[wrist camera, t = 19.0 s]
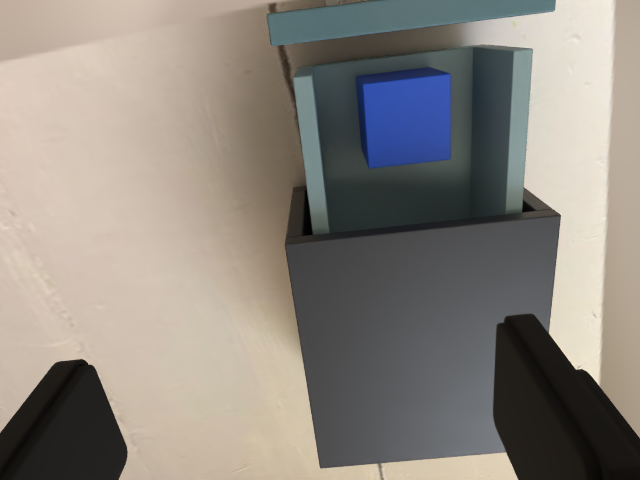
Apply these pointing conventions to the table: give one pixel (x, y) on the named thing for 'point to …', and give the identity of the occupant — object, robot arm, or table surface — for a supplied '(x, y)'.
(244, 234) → the table surface
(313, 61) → the table surface
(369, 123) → the blue block
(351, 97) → the drawer
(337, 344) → the dark grey drawer cabinet
